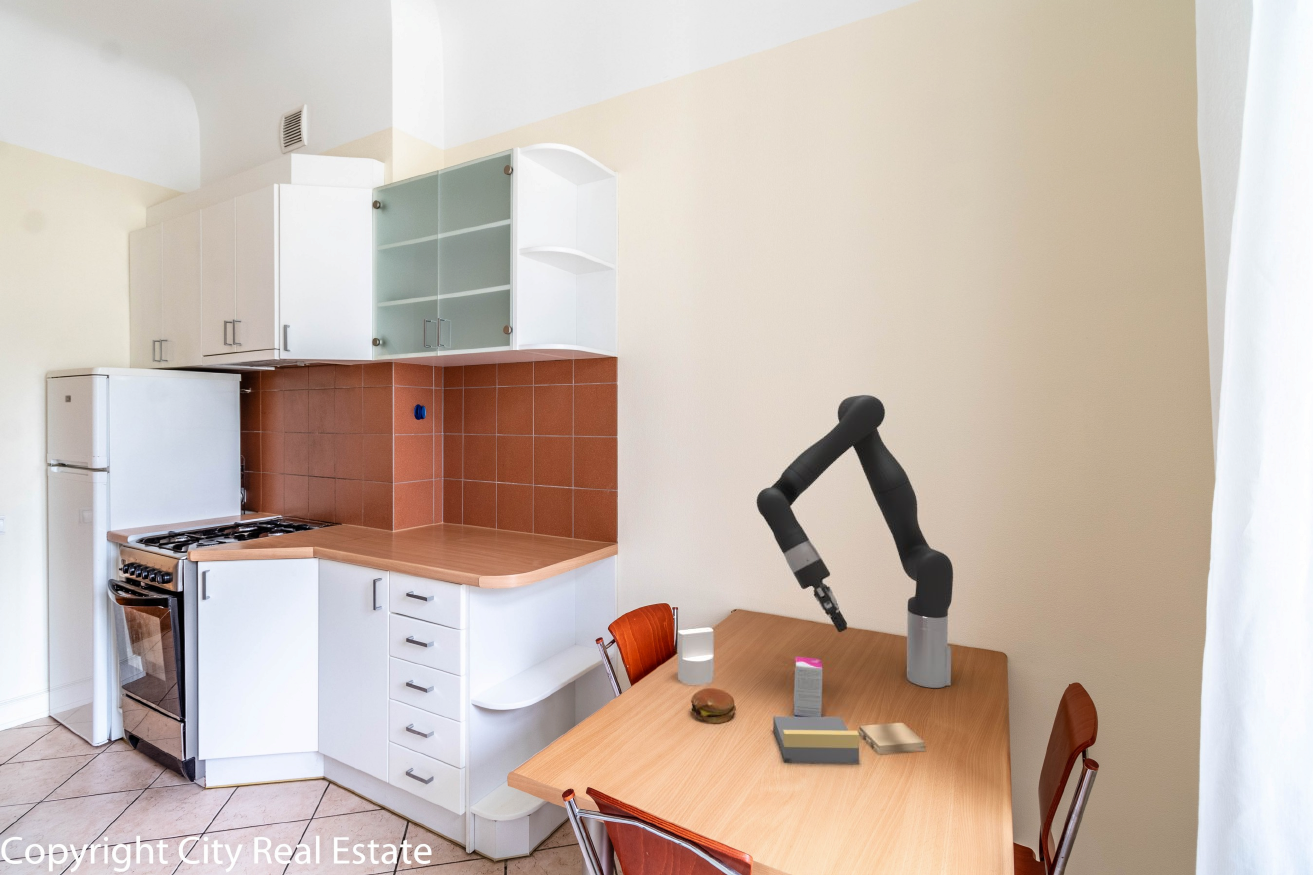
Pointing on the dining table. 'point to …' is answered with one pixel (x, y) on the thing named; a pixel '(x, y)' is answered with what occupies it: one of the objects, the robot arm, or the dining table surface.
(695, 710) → the burger
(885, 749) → the block
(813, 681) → the supplement box
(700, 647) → the cylinder with rectangular tab
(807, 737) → the dock
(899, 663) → the dining table surface
